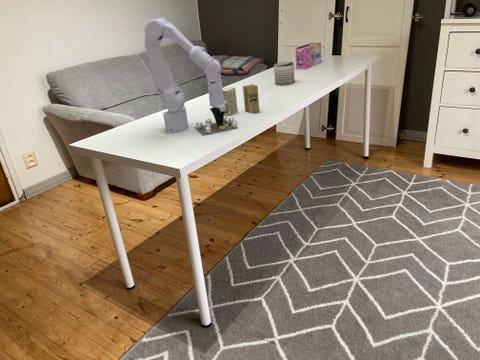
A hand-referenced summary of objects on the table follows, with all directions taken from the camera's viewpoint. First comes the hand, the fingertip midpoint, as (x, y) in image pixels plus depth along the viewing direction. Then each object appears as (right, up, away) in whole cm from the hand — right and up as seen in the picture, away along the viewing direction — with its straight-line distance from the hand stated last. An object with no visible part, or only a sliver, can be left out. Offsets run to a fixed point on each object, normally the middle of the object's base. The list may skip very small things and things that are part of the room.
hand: (219, 124), depth 161 cm
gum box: (+55, +55, +107) cm, 132 cm away
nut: (+1, -2, -2) cm, 3 cm away
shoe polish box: (+14, +8, +18) cm, 24 cm away
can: (+34, +33, +65) cm, 80 cm away
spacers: (-1, -1, -1) cm, 2 cm away
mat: (-2, -2, 0) cm, 3 cm away
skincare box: (+4, +6, +17) cm, 18 cm away
